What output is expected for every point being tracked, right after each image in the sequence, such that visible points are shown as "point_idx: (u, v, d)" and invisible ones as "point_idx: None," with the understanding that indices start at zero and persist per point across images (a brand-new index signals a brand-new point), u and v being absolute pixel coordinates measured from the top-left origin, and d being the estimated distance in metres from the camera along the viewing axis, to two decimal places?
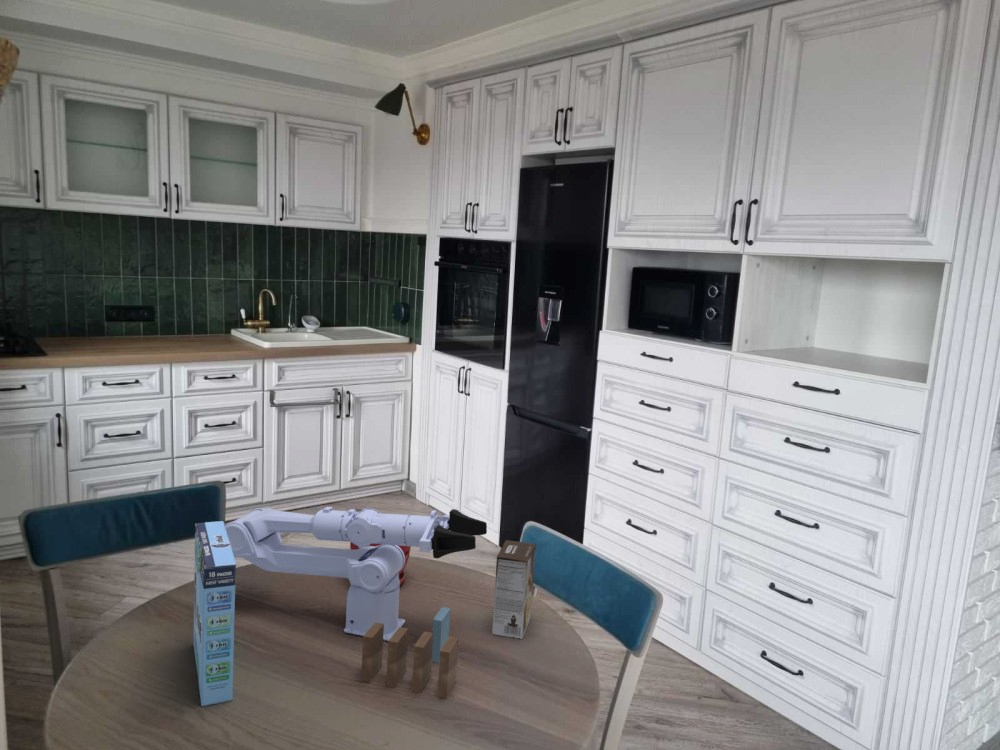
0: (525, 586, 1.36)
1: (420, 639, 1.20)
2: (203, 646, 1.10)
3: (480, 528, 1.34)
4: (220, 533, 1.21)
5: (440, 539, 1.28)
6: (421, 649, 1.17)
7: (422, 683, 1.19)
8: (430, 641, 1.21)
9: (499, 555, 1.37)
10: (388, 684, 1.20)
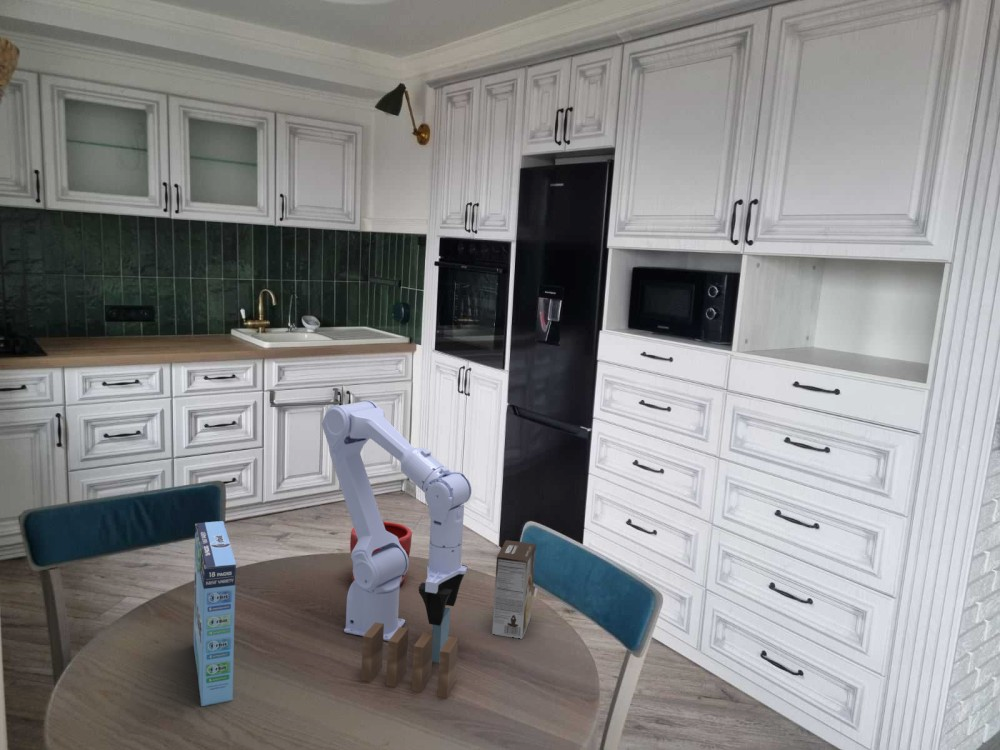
0: (525, 586, 1.36)
1: (420, 639, 1.20)
2: (203, 646, 1.10)
3: (448, 600, 1.32)
4: (220, 533, 1.21)
5: None
6: (421, 649, 1.17)
7: (422, 683, 1.19)
8: (430, 641, 1.21)
9: (499, 555, 1.36)
10: (388, 684, 1.20)
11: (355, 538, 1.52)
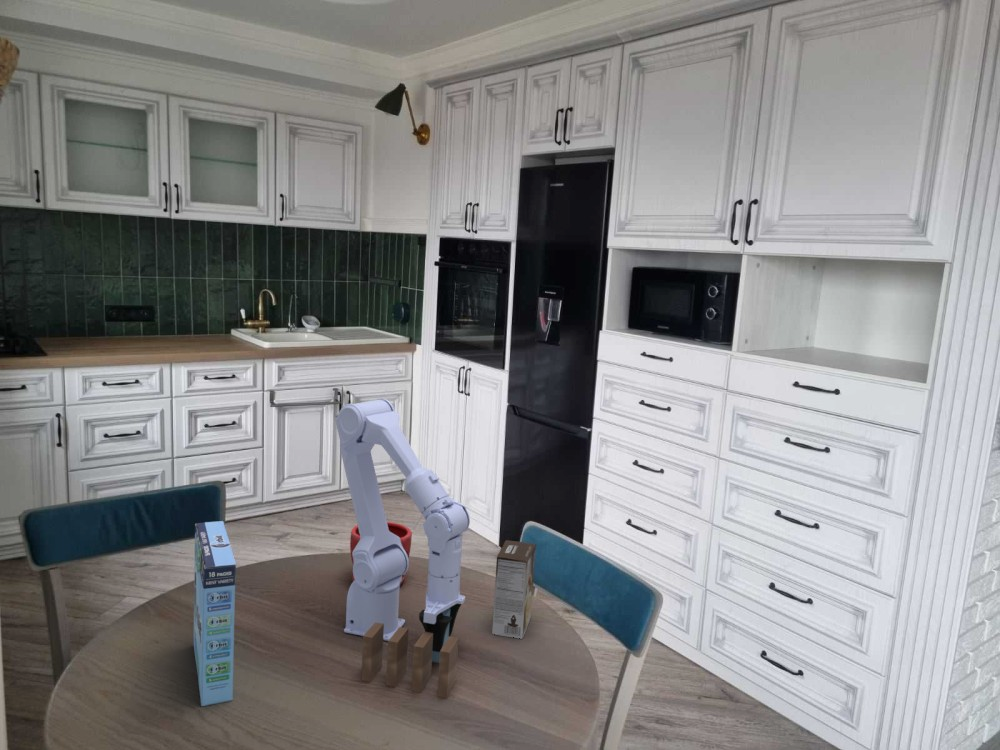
0: (525, 586, 1.36)
1: (420, 639, 1.20)
2: (203, 646, 1.10)
3: None
4: (220, 533, 1.21)
5: None
6: (421, 649, 1.17)
7: (422, 683, 1.19)
8: (430, 641, 1.21)
9: (499, 555, 1.37)
10: (388, 684, 1.20)
11: (355, 538, 1.52)
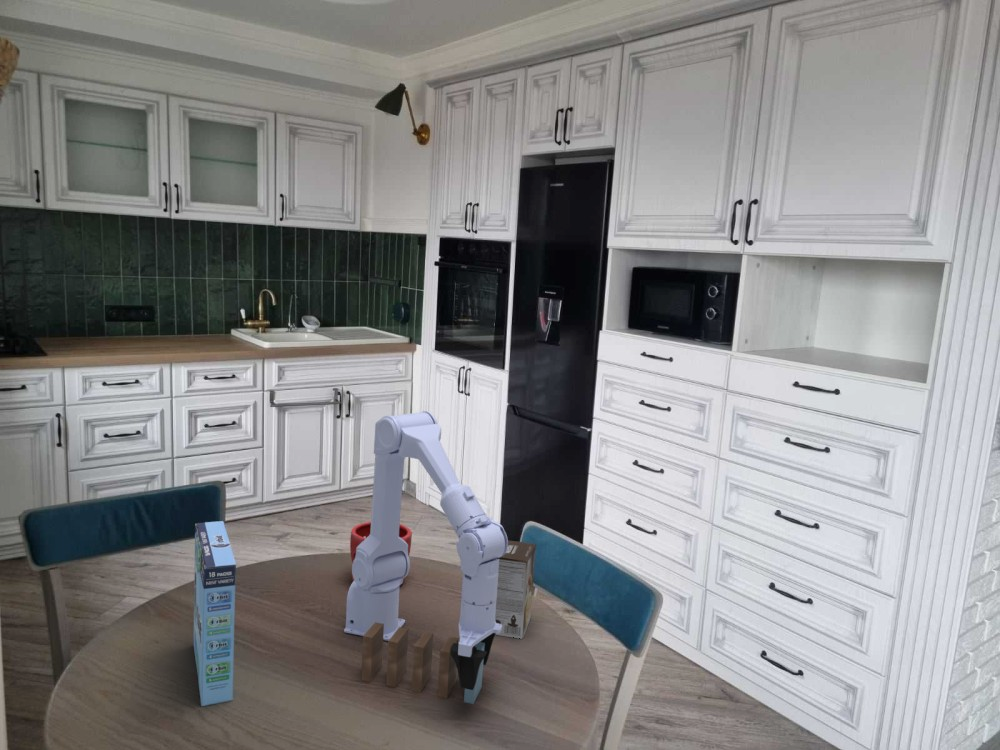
0: (525, 586, 1.36)
1: (420, 639, 1.20)
2: (203, 646, 1.10)
3: None
4: (220, 533, 1.21)
5: None
6: (421, 649, 1.17)
7: (422, 683, 1.19)
8: (430, 641, 1.21)
9: None
10: (388, 684, 1.20)
11: (355, 538, 1.52)
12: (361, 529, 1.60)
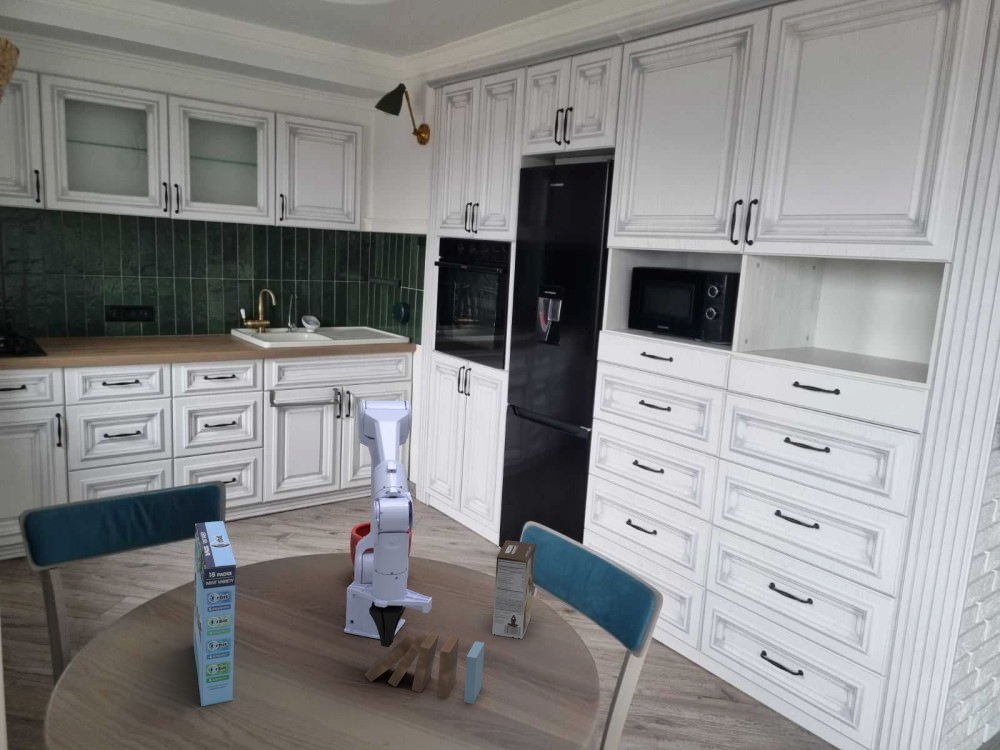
0: (525, 586, 1.36)
1: (426, 640, 1.19)
2: (203, 646, 1.10)
3: None
4: (220, 533, 1.21)
5: None
6: (427, 651, 1.17)
7: (423, 683, 1.19)
8: (435, 642, 1.21)
9: (499, 555, 1.37)
10: (390, 681, 1.19)
11: (355, 538, 1.52)
12: (361, 529, 1.60)
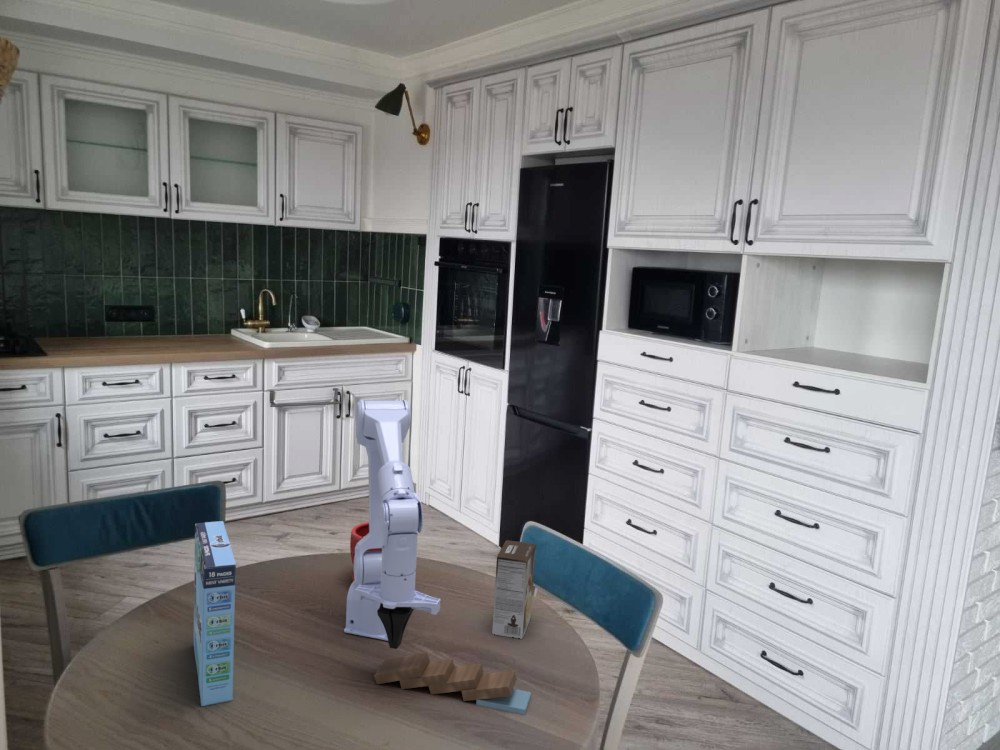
0: (525, 586, 1.36)
1: (477, 673, 1.18)
2: (203, 646, 1.10)
3: None
4: (220, 533, 1.21)
5: None
6: (473, 687, 1.16)
7: None
8: None
9: (499, 555, 1.37)
10: (401, 682, 1.19)
11: (355, 538, 1.52)
12: (361, 529, 1.60)
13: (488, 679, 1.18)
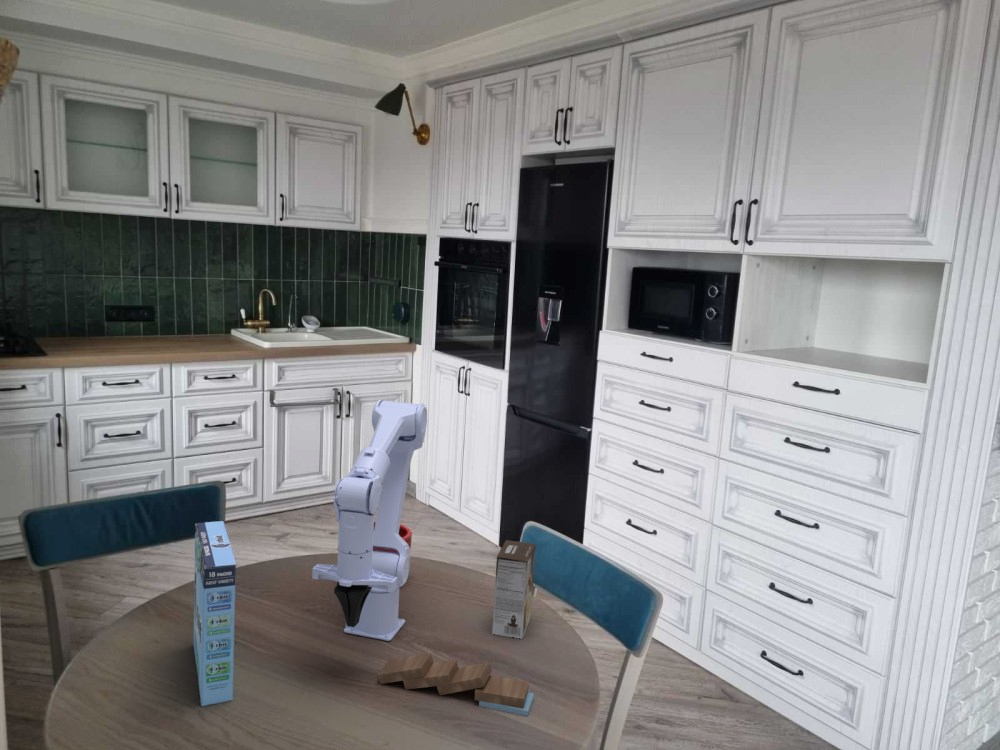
0: (525, 586, 1.36)
1: (485, 671, 1.18)
2: (203, 646, 1.10)
3: None
4: (220, 533, 1.21)
5: None
6: (480, 685, 1.16)
7: None
8: None
9: (499, 555, 1.37)
10: (405, 682, 1.19)
11: None
12: None
13: (501, 684, 1.18)
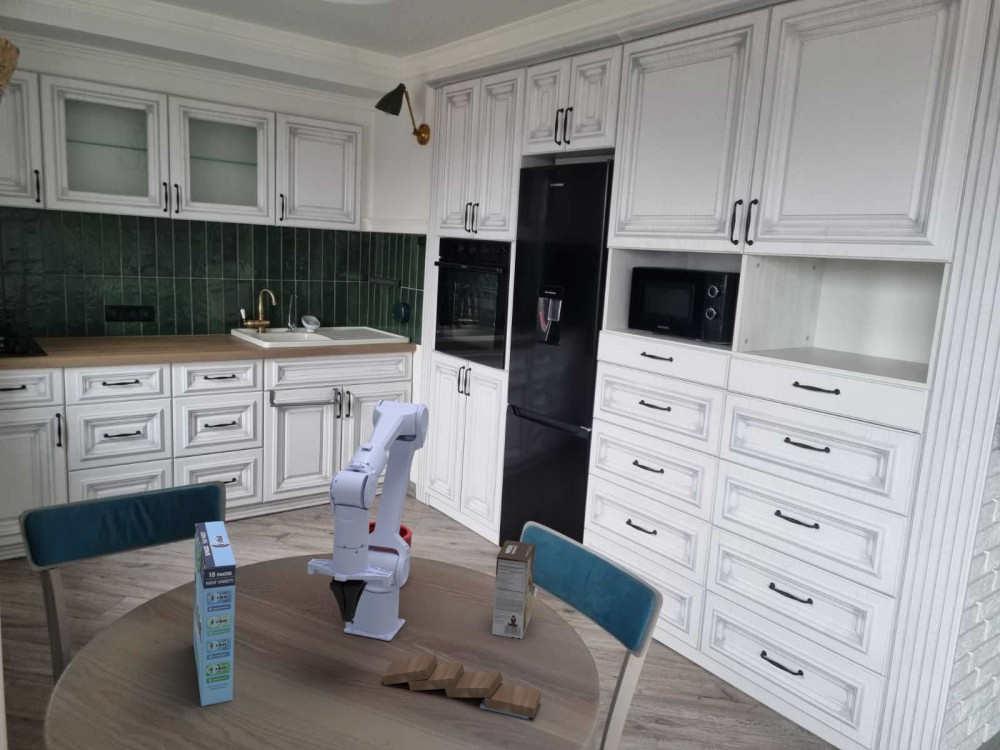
0: (525, 586, 1.36)
1: (494, 681, 1.16)
2: (203, 646, 1.10)
3: None
4: (220, 533, 1.21)
5: None
6: (487, 695, 1.14)
7: None
8: None
9: (499, 555, 1.37)
10: (410, 683, 1.19)
11: None
12: None
13: (513, 692, 1.16)
